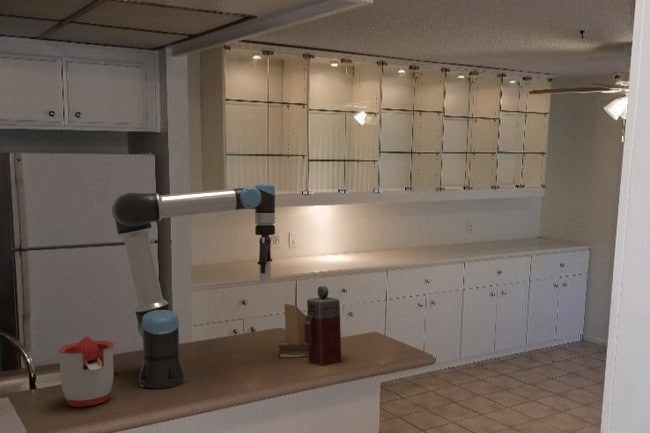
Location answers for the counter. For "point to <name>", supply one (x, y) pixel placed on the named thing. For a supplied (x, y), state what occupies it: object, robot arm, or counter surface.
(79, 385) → the citrus juicer
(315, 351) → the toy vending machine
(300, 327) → the sandwich container
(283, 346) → the walnut stand
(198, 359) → the counter surface
